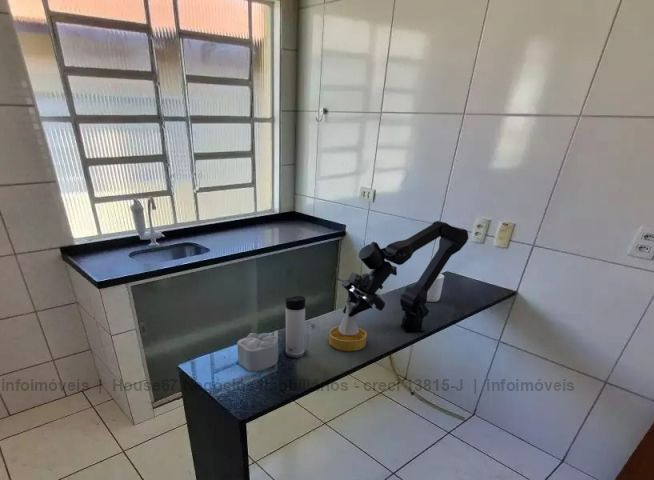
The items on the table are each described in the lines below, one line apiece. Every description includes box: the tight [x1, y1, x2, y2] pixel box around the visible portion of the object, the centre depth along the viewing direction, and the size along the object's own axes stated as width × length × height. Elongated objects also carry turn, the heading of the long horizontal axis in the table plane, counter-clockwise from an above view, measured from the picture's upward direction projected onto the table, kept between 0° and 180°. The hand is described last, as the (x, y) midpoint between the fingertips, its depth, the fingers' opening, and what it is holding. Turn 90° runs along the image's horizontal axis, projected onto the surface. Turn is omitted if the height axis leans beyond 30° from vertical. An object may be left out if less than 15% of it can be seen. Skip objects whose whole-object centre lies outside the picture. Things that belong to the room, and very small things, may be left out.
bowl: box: [328, 325, 368, 352], centre depth 142 cm, size 13×13×4 cm
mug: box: [426, 273, 445, 303], centre depth 179 cm, size 9×12×11 cm
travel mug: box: [285, 295, 306, 359], centre depth 132 cm, size 6×7×20 cm
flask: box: [338, 303, 359, 335], centre depth 139 cm, size 7×7×10 cm
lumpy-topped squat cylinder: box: [236, 332, 279, 372], centre depth 131 cm, size 10×13×9 cm
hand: (346, 314), depth 137 cm, fingers closed on flask, 3 cm apart
